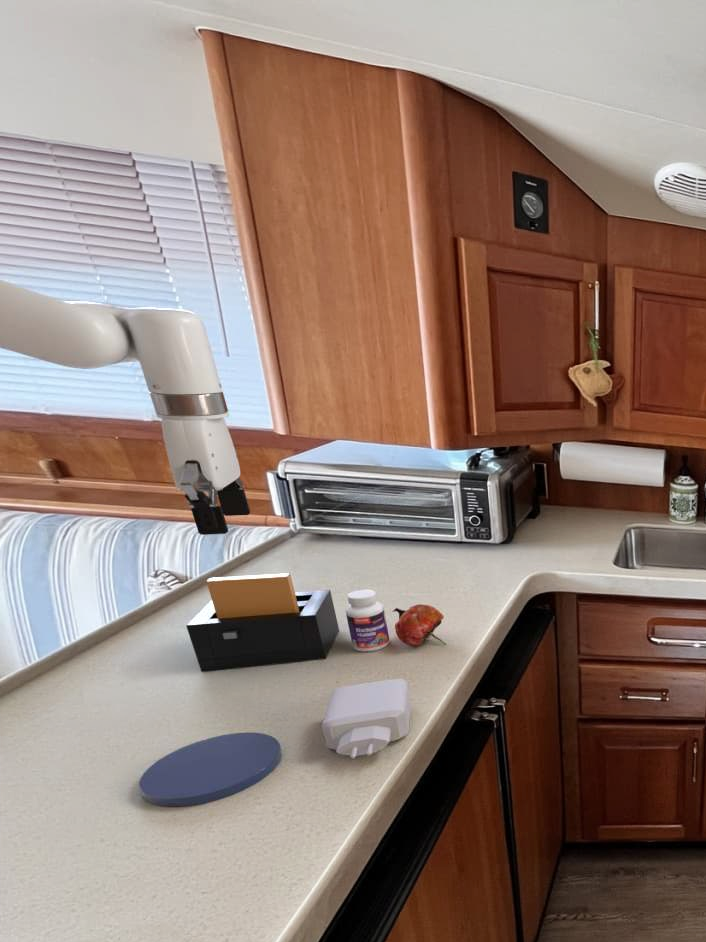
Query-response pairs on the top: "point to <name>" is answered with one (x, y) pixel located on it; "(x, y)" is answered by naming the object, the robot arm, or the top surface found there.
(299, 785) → the top surface
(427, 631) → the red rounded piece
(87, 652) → the top surface
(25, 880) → the top surface
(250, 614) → the toast
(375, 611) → the pill bottle
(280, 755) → the plate
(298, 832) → the top surface
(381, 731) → the charger
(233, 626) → the toaster
